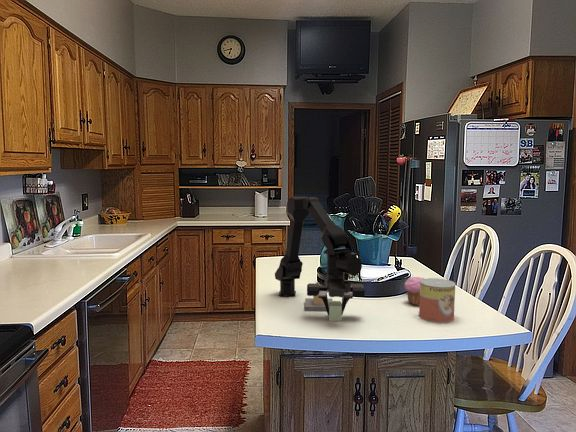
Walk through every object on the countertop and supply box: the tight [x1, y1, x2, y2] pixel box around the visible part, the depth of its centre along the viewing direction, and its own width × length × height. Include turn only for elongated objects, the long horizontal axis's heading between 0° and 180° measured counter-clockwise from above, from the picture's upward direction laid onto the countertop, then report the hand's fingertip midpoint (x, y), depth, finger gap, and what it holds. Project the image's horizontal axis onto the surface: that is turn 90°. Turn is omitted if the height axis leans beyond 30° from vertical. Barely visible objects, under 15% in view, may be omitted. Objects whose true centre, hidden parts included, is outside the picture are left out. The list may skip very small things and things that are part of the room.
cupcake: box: [404, 276, 426, 306], centre depth 170 cm, size 9×9×10 cm
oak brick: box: [312, 295, 325, 305], centre depth 167 cm, size 6×4×5 cm, turn 178°
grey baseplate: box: [304, 297, 334, 312], centre depth 167 cm, size 10×10×2 cm
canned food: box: [418, 277, 456, 324], centre depth 155 cm, size 11×11×12 cm
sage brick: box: [328, 300, 343, 322], centre depth 155 cm, size 6×4×5 cm, turn 178°
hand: (334, 314), depth 155 cm, fingers closed on sage brick, 4 cm apart
